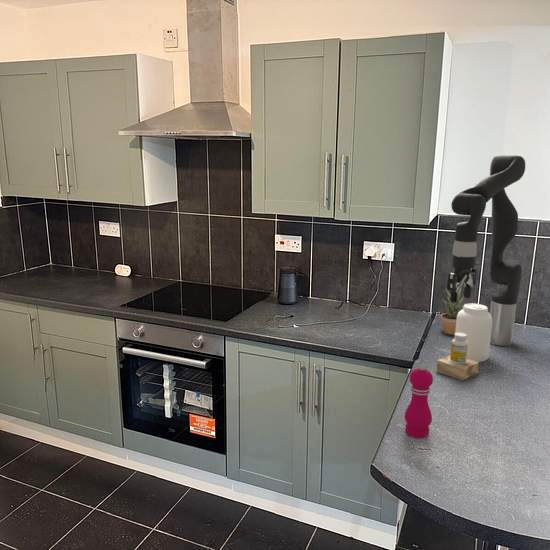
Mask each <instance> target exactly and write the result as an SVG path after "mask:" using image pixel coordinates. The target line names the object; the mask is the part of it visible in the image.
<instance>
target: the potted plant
mask: <svg viewBox="0 0 550 550" xmlns="http://www.w3.org/2000/svg"><path fill="white" fill-rule="evenodd" d="M451 285H452V284H450V286H451ZM445 290H446V293H447V300H448V302H447V301H446V300H444V298H442V302H443V303H444V304H445V307H444V308H445V310H446V311H445V313H441V314H440V320H441V323H442V327H443V332H444V334H447V335H453V336H455V331H456V320H457V315H458V312H459V311H461V310H462V309H463V306H464V305H465V303H463V302H464V301H465V299H464V298H465V297H464V295H463V296H462V297H461V294H462V293H461V291H462V287H460V288H459V290H458V297H457V302H456V303H453V302H451V301H450V297H451V291H449V290H447V287H445ZM460 297H461V299H460Z"/></svg>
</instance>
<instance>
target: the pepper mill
mask: <svg viewBox="0 0 550 550" xmlns="http://www.w3.org/2000/svg"><path fill="white" fill-rule="evenodd" d="M433 377H434V376H433V374H432V373H431V371H429V370H428V369H426V365H425V364H424V363H421V364H419V365H418V368H415V369H413V370H412V371H411V373H409V382H410V384H411V385H410V391H411V400H410V402H409V405H408V406H407V407H406V410H405V413H404V420H405V422H406V423H405V429H404V430H405V433H406V434H407V435H408V436H409V437H413V438H414V439H415V438H416V439H424V438H426V437H428V436H429V434H430V425H432V422H433V416H432V411H431V408H430V406H429V402H428V396H429V394H430V393H431V391H430V390H431V386H432V384H433V382H434V379H433Z"/></svg>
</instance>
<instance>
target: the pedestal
mask: <svg viewBox="0 0 550 550" xmlns="http://www.w3.org/2000/svg"><path fill="white" fill-rule="evenodd" d="M450 355H451V354H449V355H447V356H445V357H443V358H439V359H437V361H436V362H437V363H436V372H438V373H441V374H444V375H447V376H449V377H452V378H455V379H456V380H460V381H465V380H466V379H468V378H470V377H473V376H475V375H477V374H479V368H480V367H479V365H480V362H477V361H474V360H471V359H468V358H467V360H466V362H465V363H455V362H452V361H451V360H450Z"/></svg>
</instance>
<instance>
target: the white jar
mask: <svg viewBox="0 0 550 550" xmlns="http://www.w3.org/2000/svg"><path fill="white" fill-rule="evenodd" d="M491 330H492V316H491V315H490V312H489V308H488V306H486V305H484V304H481V303H474V302H473V303H472V302H471V303H464V304H463V306H462V308H461V309H460V310H459V312H458V315H457V320H456V331H455V333H464V334H466V335H467V339H466V340H467V341H468V351H467V358H468V359H471V360H474V361H477V362H479V363H481V362H485V361H487V360H488V359H489V355H490V346H491V343H490V339H491Z"/></svg>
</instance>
